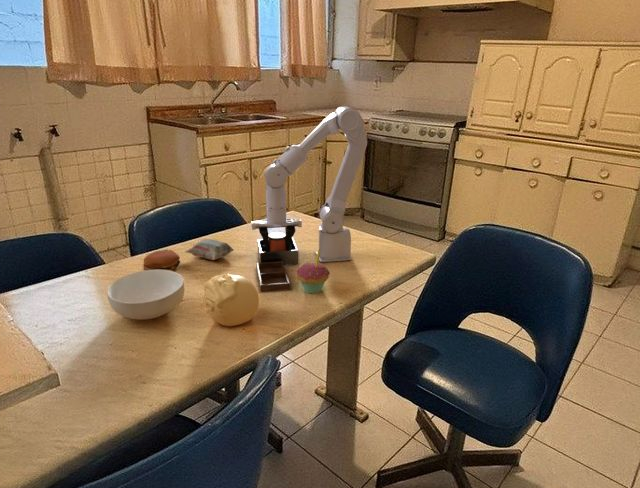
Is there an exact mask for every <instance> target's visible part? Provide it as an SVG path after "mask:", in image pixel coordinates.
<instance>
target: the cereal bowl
mask: <svg viewBox="0 0 640 488" xmlns="http://www.w3.org/2000/svg"><path fill="white" fill-rule="evenodd" d="M185 285H186V284H185V280H184V277H183V276H182V275H181V274H180V273H178V272H176V271H174V270H171V271H169V270H146V271H144V270H141V271H136V272H132V273H128V274H126V275H124V276H121V277H120V278H117V279H116V280H114V281H113V282H112V283H110V284H109V285H108V287H107V290H106V297H107V301H108V304H109V305H110V307H111V309H112V310H113V311H114V312H115V313H116V314H118V315H119V316H121V317H124V318H125V319H130V320H152V319H156V318H159V317H162V316H164V315H166V314H168V313H169V312H171V311H173V310H174V309H176V308H177V307H178V306H179V305H180V304H181V302H182V300H183V299H184V297H185V291H186V288H185V287H186V286H185Z"/></svg>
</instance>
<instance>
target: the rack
mask: <svg viewBox="0 0 640 488" xmlns="http://www.w3.org/2000/svg"><path fill="white" fill-rule="evenodd" d="M256 273H257V278H258V284H259V290H260V293H265V292H277V291H288V290H290V289H291V283H290V279H289V277H288V274H287V273H288V272H287V270H286V267H285V265H284V264H283V261H281V262H267V263H260V262H257V263H256Z"/></svg>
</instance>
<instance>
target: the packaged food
mask: <svg viewBox="0 0 640 488" xmlns="http://www.w3.org/2000/svg"><path fill="white" fill-rule="evenodd" d="M233 251H235V249H234V248H233V246H231V245H230V244H228V243H227V242H224V241H220V240H216V239H212V238H204V239H202V240H200V241H198V242H197V243H195V244H194V245H193V246H192V247H190V248H189V249H187V250H185V251H184V252H185V253H188V254H191V255H192V256H194V257H197V258H198V257H199V258H203V259H206V260H210V261H215V260H219V259H221V258H223V257H224V256H227V255H229V254H230V253H231V252H233Z"/></svg>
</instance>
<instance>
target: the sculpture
mask: <svg viewBox="0 0 640 488" xmlns="http://www.w3.org/2000/svg"><path fill="white" fill-rule="evenodd" d="M203 290H204V295H203V300H204V305H205V307H206V313H207V314H208V316H209V318H210V319H212V320H213V321H214V323H218V324H219V325H222V326H223V327H224V326H225V327H234V326H239V325H242V324H245V323H248V322H250V320H252V319H253V318H254V317H255V316H256V315H257V313H258V309H259V306H260V296H259V292H258V289H257V287H256V285H255V284H254V283H253V282H252V280H250V279H249V278H248V277H245V276H243V275H239V274H231V273H229V272H226V273H224V274H219V275H214V276H212V277H210V279H209V280H207V281H205V283H204V285H203Z"/></svg>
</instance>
